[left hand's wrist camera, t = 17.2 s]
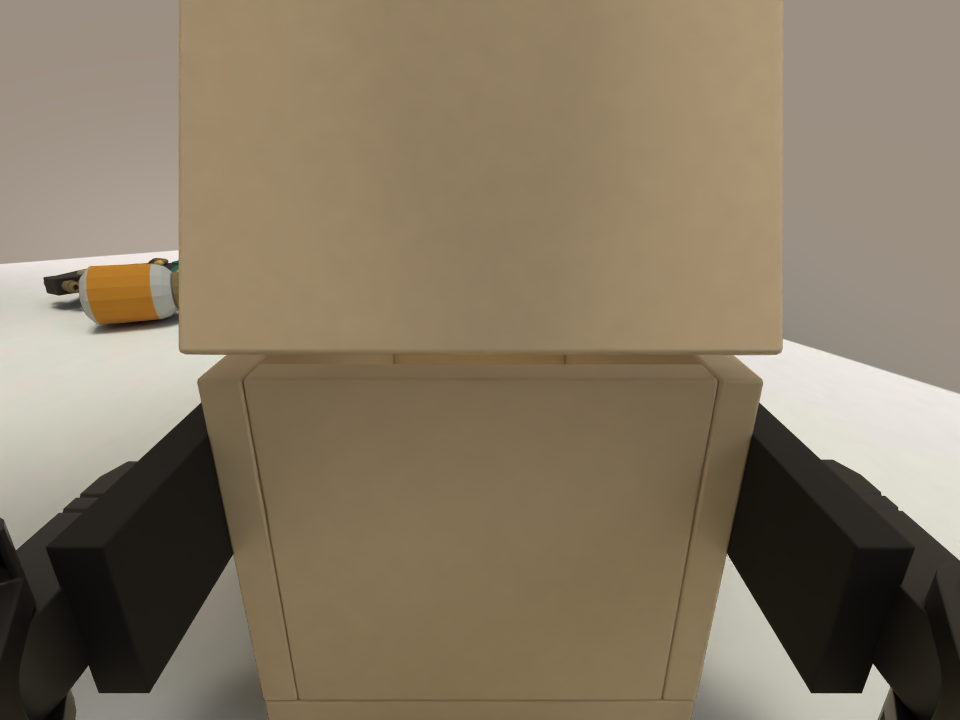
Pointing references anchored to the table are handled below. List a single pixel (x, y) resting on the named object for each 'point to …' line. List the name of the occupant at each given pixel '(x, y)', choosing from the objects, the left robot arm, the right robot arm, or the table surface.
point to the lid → (481, 177)
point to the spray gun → (122, 290)
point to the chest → (480, 528)
